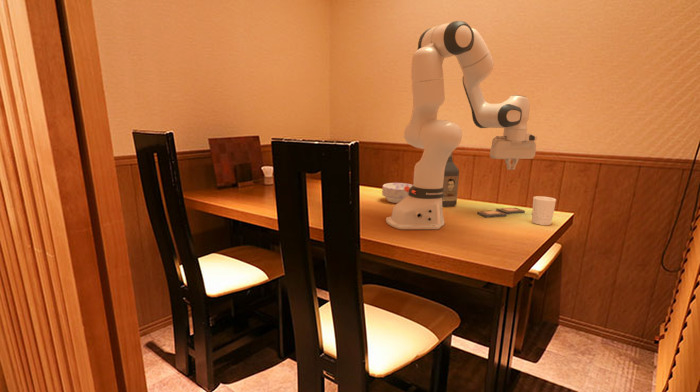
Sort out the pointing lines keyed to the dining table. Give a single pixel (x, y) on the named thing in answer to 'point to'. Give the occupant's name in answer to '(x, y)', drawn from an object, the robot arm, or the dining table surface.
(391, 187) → the paper bowls
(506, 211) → the tile right
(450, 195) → the liquor
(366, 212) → the dining table surface
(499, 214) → the tile left
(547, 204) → the white cup
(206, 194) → the dining table surface
